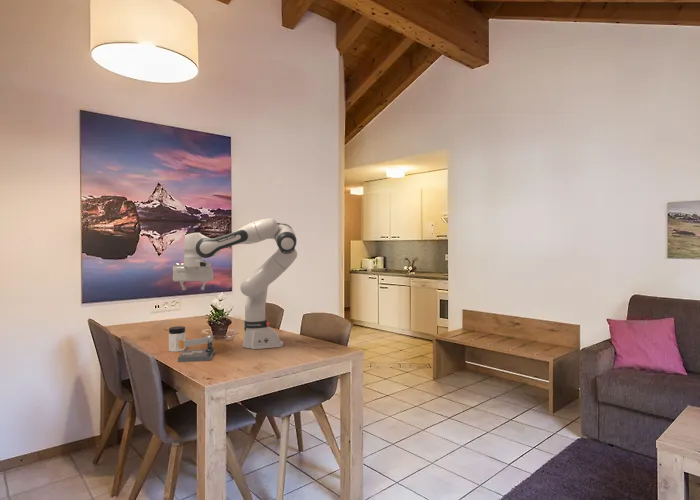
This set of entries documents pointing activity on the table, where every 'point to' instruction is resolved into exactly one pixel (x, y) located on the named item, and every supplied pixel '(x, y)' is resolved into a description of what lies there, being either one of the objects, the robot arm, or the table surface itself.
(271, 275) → the robot arm
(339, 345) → the table surface
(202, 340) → the bar
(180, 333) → the jar
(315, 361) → the table surface
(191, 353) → the chassis plate
